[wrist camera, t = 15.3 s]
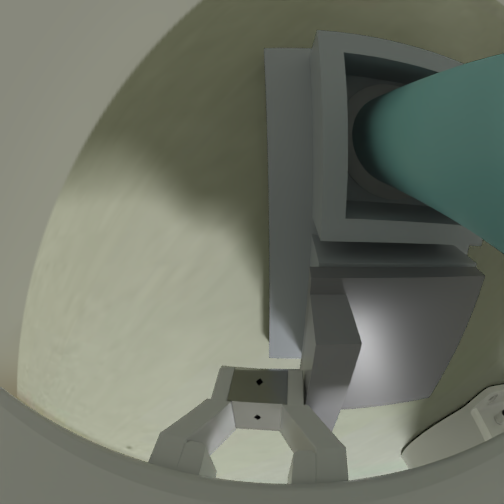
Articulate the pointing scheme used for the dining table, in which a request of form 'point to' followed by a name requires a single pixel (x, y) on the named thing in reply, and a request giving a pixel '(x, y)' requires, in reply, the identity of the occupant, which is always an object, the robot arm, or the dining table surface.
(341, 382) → the slide lid
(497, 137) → the jaw peg
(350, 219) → the housing
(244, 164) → the dining table surface
